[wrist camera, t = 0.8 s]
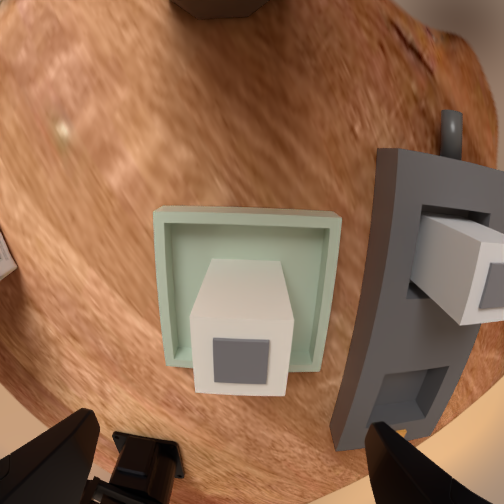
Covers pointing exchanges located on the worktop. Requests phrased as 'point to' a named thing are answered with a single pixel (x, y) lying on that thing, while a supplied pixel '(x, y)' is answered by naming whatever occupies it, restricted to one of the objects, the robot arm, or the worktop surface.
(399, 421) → the strip
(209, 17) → the beer bottle
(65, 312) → the worktop surface
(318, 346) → the tray
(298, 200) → the worktop surface
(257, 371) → the iec plug
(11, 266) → the tea box
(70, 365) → the worktop surface
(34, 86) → the worktop surface
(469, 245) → the twin plug
